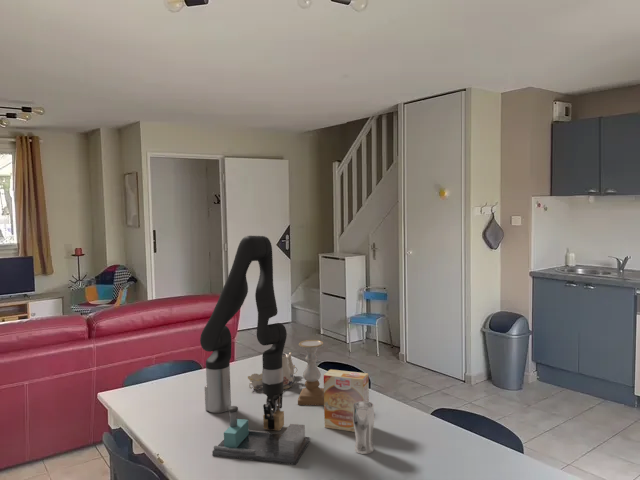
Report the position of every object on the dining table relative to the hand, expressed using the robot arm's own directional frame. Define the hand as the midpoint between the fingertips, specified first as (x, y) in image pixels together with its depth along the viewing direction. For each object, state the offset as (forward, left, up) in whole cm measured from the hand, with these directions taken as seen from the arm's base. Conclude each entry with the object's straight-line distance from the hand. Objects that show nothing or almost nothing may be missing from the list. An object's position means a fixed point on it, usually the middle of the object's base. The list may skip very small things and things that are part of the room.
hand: (273, 425), depth 184 cm
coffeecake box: (+25, +7, -1) cm, 26 cm away
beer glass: (+34, -9, -1) cm, 35 cm away
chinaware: (-14, +44, -2) cm, 47 cm away
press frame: (+1, -15, -1) cm, 15 cm away
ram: (-8, -15, +1) cm, 17 cm away
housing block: (0, 0, 0) cm, 0 cm away
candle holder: (+6, +29, -1) cm, 30 cm away
